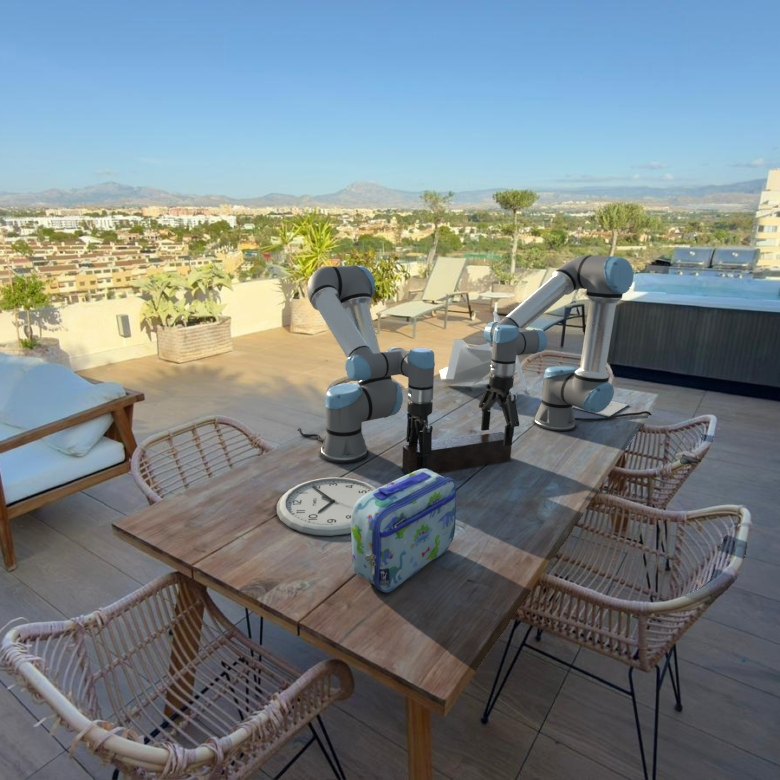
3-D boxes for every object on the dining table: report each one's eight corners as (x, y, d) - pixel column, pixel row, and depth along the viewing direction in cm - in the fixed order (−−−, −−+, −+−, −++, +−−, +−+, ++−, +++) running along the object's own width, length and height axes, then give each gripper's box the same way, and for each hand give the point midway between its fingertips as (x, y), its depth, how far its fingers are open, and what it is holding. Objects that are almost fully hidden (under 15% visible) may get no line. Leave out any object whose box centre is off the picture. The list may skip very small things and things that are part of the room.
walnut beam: (500, 453, 177) (502, 431, 175) (510, 460, 172) (512, 438, 170) (402, 469, 165) (402, 445, 163) (409, 477, 160) (410, 453, 157)
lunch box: (379, 605, 105) (380, 513, 99) (344, 580, 112) (343, 493, 106) (459, 552, 123) (464, 471, 116) (425, 533, 130) (428, 456, 124)
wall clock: (392, 527, 129) (268, 531, 127) (391, 533, 130) (269, 537, 127) (383, 473, 158) (282, 475, 155) (383, 478, 158) (282, 480, 156)
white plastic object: (461, 429, 252) (437, 405, 227) (444, 352, 274) (420, 323, 250) (535, 404, 240) (518, 377, 215) (510, 326, 262) (492, 293, 237)
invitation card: (608, 416, 214) (573, 407, 224) (608, 416, 214) (573, 408, 224) (628, 404, 229) (594, 396, 238) (628, 405, 229) (594, 397, 238)
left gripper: (396, 392, 164) (395, 459, 171) (421, 411, 147) (419, 485, 154) (418, 390, 166) (416, 456, 173) (445, 409, 149) (442, 481, 156)
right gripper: (471, 365, 175) (466, 425, 181) (514, 386, 152) (507, 453, 158) (491, 364, 177) (485, 423, 183) (535, 384, 155) (528, 450, 161)
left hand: (417, 470), depth 164 cm, fingers closed on walnut beam, 6 cm apart
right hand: (495, 437), depth 171 cm, fingers open, 13 cm apart
